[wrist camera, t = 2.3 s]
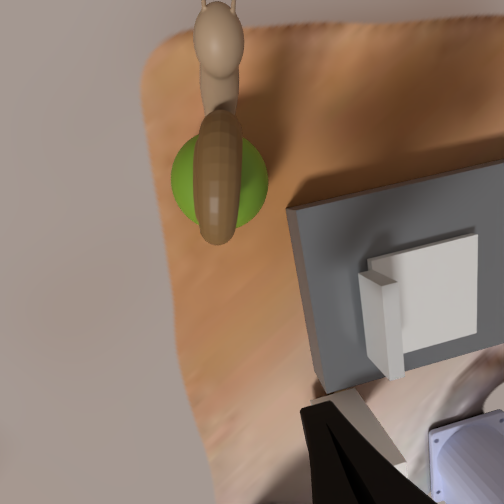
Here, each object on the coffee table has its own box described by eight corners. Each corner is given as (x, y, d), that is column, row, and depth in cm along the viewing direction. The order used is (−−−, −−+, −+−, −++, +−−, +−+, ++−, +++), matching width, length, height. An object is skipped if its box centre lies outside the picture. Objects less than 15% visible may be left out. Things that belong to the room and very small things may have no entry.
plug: (354, 416, 23) (410, 507, 16) (313, 428, 22) (352, 526, 16) (350, 380, 22) (406, 461, 15) (306, 393, 21) (345, 481, 15)
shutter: (470, 329, 19) (514, 353, 16) (364, 359, 18) (390, 388, 15) (470, 233, 17) (520, 240, 14) (353, 262, 16) (380, 276, 13)
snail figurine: (261, 128, 16) (365, -48, 5) (259, 225, 18) (332, 281, 6) (177, 123, 15) (45, -97, 4) (181, 224, 17) (93, 286, 5)
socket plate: (542, 307, 22) (581, 320, 20) (314, 370, 21) (326, 393, 18) (556, 146, 19) (605, 139, 17) (285, 208, 17) (295, 210, 15)
